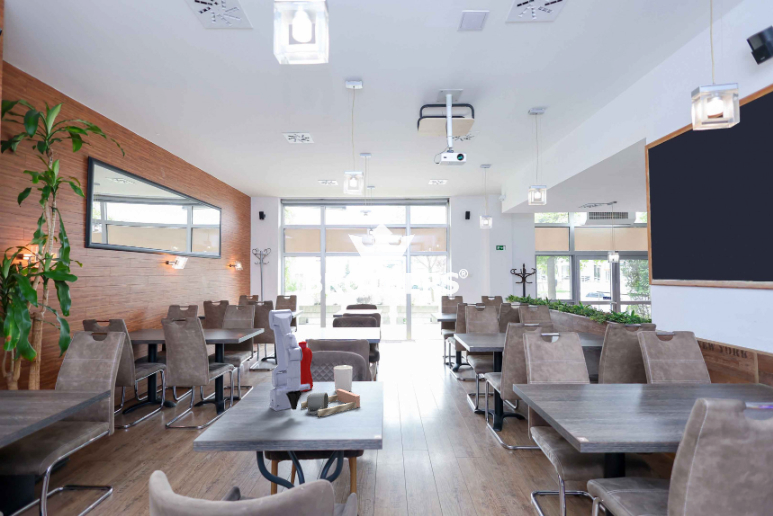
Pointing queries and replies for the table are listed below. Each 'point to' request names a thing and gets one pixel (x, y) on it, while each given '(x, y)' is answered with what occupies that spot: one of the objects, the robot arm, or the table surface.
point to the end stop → (348, 397)
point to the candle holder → (343, 377)
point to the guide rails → (332, 409)
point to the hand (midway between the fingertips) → (293, 409)
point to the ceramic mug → (317, 402)
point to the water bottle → (305, 365)
